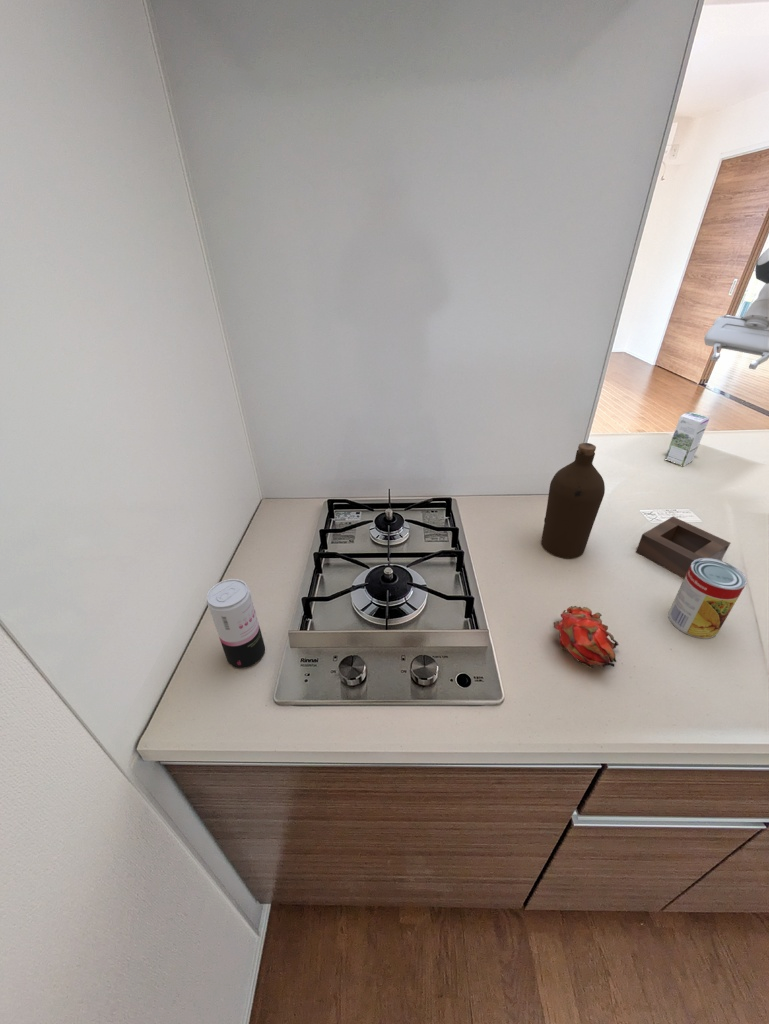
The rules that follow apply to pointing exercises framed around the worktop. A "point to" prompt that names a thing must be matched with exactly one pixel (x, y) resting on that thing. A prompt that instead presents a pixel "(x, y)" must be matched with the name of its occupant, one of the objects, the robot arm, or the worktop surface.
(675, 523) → the holder
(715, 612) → the canned food
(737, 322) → the robot arm
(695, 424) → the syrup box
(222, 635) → the beverage can
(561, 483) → the olive oil
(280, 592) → the worktop surface
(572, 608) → the dragon fruit
